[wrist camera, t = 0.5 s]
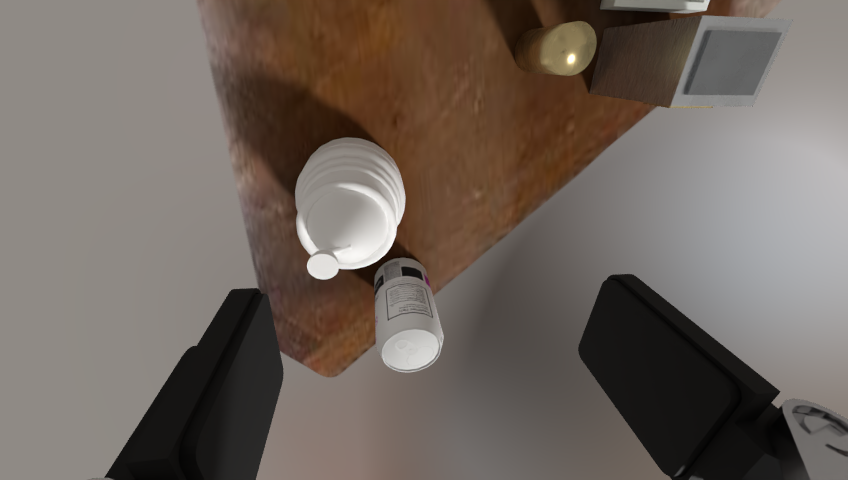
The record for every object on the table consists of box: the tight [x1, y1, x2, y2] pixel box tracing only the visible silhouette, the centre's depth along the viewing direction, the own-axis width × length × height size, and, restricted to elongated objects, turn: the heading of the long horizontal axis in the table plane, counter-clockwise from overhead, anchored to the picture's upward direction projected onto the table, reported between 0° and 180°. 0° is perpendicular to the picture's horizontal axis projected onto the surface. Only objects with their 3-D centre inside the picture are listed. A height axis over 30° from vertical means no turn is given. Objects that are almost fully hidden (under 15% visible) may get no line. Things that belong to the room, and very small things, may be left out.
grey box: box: [589, 16, 793, 108], centre depth 35 cm, size 7×9×13 cm
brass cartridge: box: [514, 21, 596, 75], centre depth 35 cm, size 4×4×9 cm
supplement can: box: [374, 258, 444, 372], centre depth 45 cm, size 8×8×15 cm
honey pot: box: [295, 137, 405, 279], centre depth 35 cm, size 13×13×18 cm
